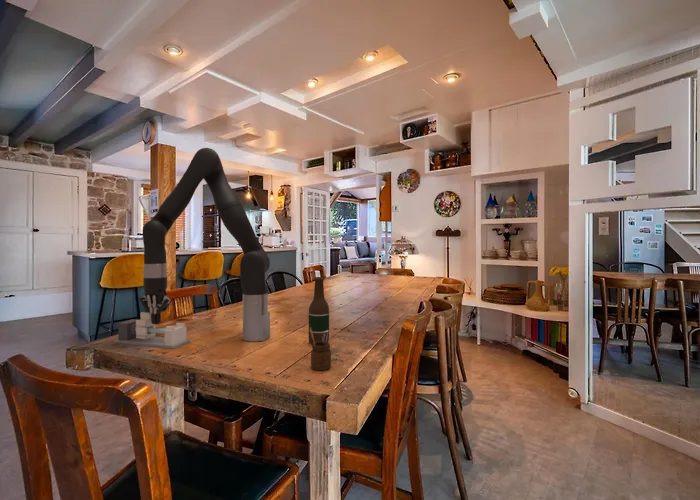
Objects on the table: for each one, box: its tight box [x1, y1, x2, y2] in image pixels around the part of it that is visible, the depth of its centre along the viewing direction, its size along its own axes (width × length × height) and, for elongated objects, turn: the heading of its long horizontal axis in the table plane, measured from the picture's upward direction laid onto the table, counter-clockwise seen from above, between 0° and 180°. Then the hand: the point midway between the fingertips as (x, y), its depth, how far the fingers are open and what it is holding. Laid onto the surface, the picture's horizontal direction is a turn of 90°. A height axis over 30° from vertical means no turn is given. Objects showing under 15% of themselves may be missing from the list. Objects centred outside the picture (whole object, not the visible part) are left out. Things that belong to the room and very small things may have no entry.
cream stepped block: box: [135, 311, 157, 339], centre depth 127 cm, size 4×5×9 cm
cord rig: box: [114, 319, 191, 350], centre depth 126 cm, size 26×8×7 cm, turn 75°
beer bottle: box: [308, 276, 330, 345], centre depth 127 cm, size 8×8×24 cm
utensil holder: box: [310, 327, 332, 371], centre depth 102 cm, size 6×6×12 cm
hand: (155, 323), depth 125 cm, fingers closed
